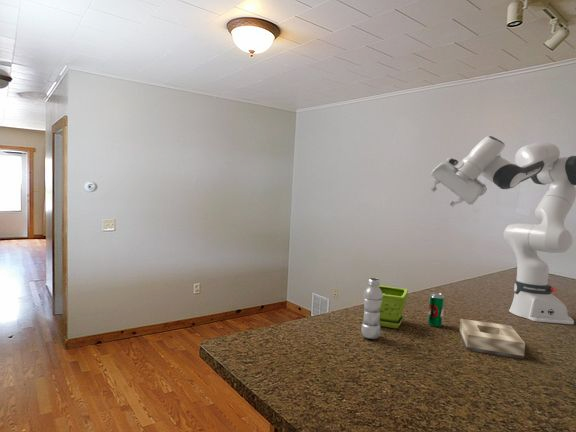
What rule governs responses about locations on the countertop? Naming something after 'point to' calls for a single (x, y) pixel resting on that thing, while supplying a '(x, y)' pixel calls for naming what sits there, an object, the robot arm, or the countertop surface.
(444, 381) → the countertop surface
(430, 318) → the soda can
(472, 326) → the can holder
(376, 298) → the plastic bottle
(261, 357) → the countertop surface
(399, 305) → the flower pot
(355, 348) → the countertop surface
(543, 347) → the countertop surface
